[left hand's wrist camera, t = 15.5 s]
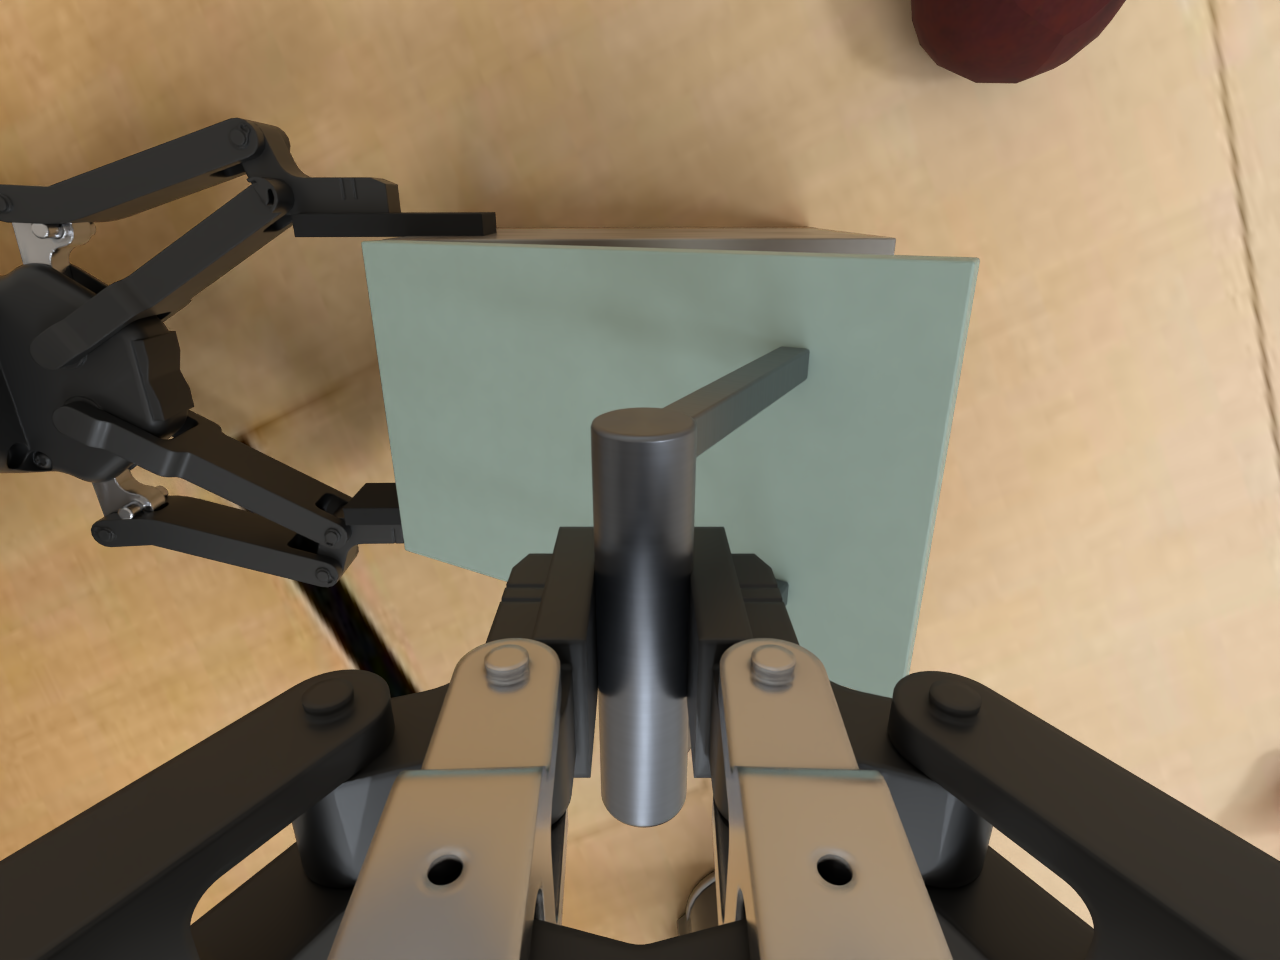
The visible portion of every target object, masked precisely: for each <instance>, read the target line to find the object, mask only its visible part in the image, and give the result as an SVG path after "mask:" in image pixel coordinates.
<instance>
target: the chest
mask: <svg viewBox="0 0 1280 960" xmlns="http://www.w3.org/2000/svg"><path fill="white" fill-rule="evenodd" d="M496 230H497V233H494V234H490V235H485V236H404V237H398V238H391V239H384V240H405V241H439V242H472V243H505V244H539V245H572V246H605V247H639V248H672V249H705V250H739V251H772V252H805V253H839V254H872V255H894V251H895V243H896V239H895V238H891V237H883V236H875V235H866V234H858V233H850V232H842V231H834V230H826V229H818V228H813V227H692V228H496Z"/></svg>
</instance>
